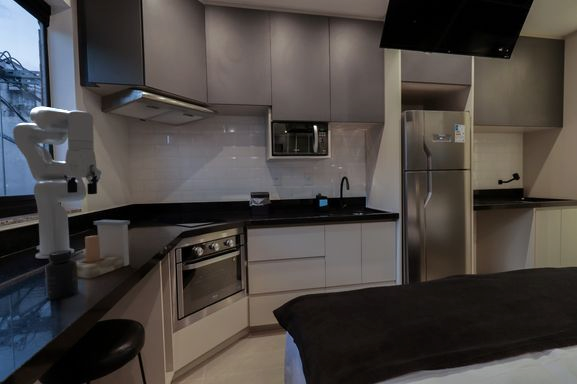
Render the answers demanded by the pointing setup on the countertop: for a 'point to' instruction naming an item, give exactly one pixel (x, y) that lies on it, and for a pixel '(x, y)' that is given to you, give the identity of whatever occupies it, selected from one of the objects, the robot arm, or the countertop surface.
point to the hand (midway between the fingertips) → (82, 193)
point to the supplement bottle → (61, 275)
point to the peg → (92, 249)
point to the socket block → (98, 266)
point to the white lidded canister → (114, 239)
